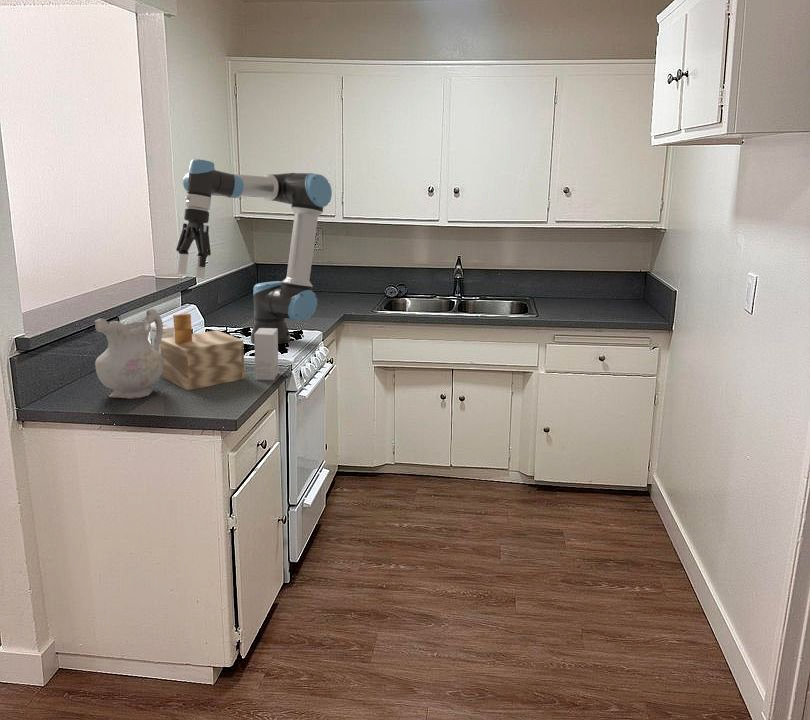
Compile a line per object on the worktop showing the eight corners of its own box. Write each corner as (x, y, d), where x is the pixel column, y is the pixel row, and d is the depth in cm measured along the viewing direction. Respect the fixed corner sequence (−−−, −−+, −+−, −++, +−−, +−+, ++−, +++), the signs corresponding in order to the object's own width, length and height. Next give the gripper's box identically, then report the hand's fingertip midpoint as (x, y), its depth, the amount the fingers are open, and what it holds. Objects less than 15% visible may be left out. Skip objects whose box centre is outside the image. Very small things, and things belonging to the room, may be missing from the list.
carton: (218, 366, 260) (216, 332, 257) (244, 378, 247) (243, 343, 244) (162, 377, 247) (160, 341, 244) (187, 390, 234) (184, 352, 231)
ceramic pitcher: (137, 382, 245) (125, 306, 239) (186, 385, 238) (175, 307, 232) (86, 402, 226) (72, 320, 220) (138, 406, 218) (125, 321, 212)
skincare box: (260, 372, 254) (258, 327, 249) (280, 373, 253) (278, 327, 249) (254, 380, 246) (252, 333, 241) (275, 380, 245) (273, 333, 241)
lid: (216, 332, 257) (215, 304, 254) (243, 342, 244) (241, 312, 241) (160, 341, 244) (157, 311, 242) (184, 352, 231) (182, 321, 228)
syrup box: (166, 364, 262) (163, 323, 258) (176, 368, 258) (174, 326, 254) (152, 368, 258) (148, 326, 254) (162, 371, 254) (159, 329, 250)
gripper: (170, 206, 249) (163, 271, 251) (203, 208, 230) (196, 277, 233) (191, 210, 254) (185, 273, 256) (226, 212, 235) (218, 280, 238)
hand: (190, 275), depth 244 cm, fingers open, 13 cm apart
